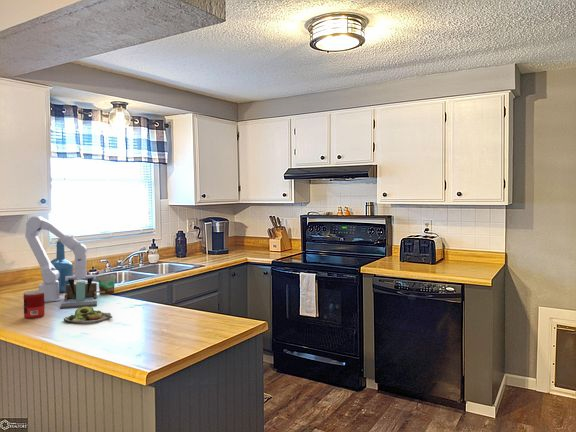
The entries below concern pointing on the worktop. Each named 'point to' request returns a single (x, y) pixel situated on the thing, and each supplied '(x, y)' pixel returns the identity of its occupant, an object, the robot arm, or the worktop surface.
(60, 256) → the wine bottle
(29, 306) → the canned food
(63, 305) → the rubber mat
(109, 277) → the food container
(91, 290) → the brown banded box
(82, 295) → the pale green block
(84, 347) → the worktop surface
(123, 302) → the worktop surface
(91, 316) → the salad plate
